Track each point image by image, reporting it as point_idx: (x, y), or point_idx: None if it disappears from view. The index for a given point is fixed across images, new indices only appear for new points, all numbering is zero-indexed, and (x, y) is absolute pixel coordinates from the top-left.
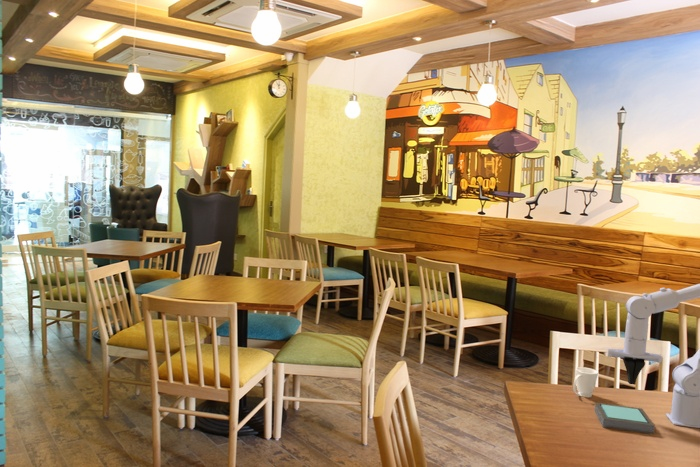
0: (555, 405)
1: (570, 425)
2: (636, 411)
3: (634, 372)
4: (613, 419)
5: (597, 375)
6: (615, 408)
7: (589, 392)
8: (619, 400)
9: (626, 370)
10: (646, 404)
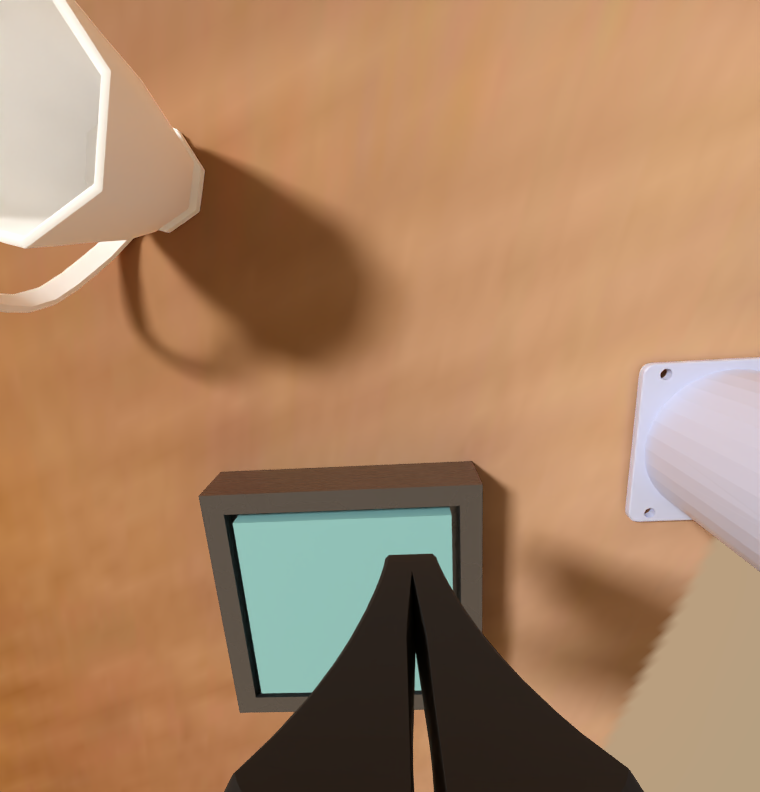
0: (15, 481)
1: (120, 698)
2: None
3: (433, 771)
4: (286, 708)
5: (132, 106)
6: (312, 557)
7: (167, 220)
8: (393, 185)
9: (351, 636)
10: (576, 184)
